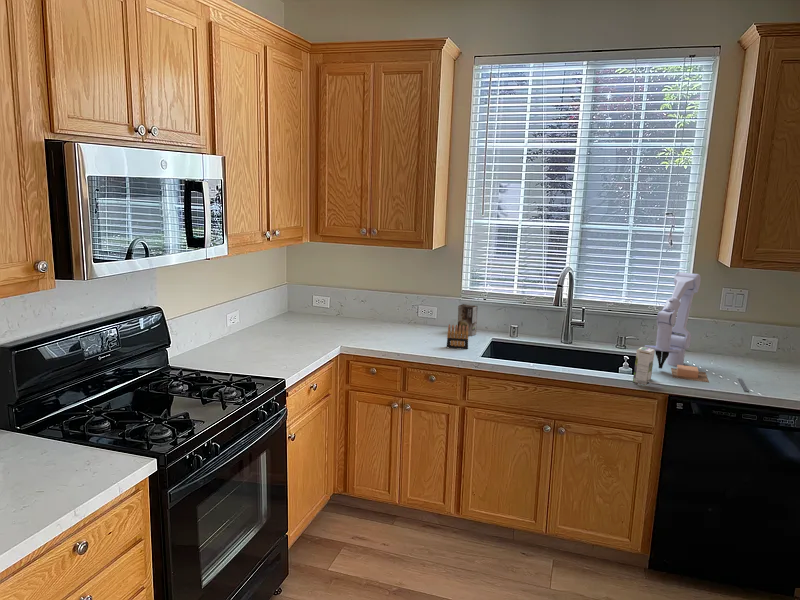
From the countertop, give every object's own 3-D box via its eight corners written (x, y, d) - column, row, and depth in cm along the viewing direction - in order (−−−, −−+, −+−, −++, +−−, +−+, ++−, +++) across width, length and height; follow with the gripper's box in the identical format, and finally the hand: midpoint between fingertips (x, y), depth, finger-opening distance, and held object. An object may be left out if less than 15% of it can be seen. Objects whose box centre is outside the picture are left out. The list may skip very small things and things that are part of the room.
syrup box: (636, 379, 250) (640, 346, 247) (651, 382, 246) (655, 349, 243) (632, 382, 245) (636, 348, 243) (647, 385, 242) (650, 351, 239)
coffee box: (476, 334, 321) (478, 305, 318) (471, 336, 316) (473, 307, 313) (461, 331, 326) (463, 303, 323) (456, 333, 321) (458, 305, 318)
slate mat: (706, 375, 259) (706, 374, 259) (741, 379, 254) (742, 378, 253) (710, 386, 242) (710, 385, 242) (748, 392, 237) (748, 391, 237)
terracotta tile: (676, 371, 258) (677, 364, 257) (696, 373, 255) (697, 367, 255) (677, 375, 252) (677, 368, 251) (697, 378, 249) (698, 371, 248)
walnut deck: (670, 371, 263) (670, 367, 263) (705, 375, 258) (705, 372, 258) (672, 380, 249) (672, 377, 248) (708, 385, 243) (709, 382, 243)
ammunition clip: (446, 347, 291) (447, 324, 289) (446, 346, 293) (447, 323, 291) (467, 349, 290) (469, 325, 287) (467, 348, 291) (469, 324, 289)
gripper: (646, 337, 254) (642, 367, 256) (682, 342, 248) (678, 372, 251) (645, 334, 260) (642, 363, 263) (681, 338, 255) (678, 368, 257)
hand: (660, 367), depth 257 cm, fingers closed
